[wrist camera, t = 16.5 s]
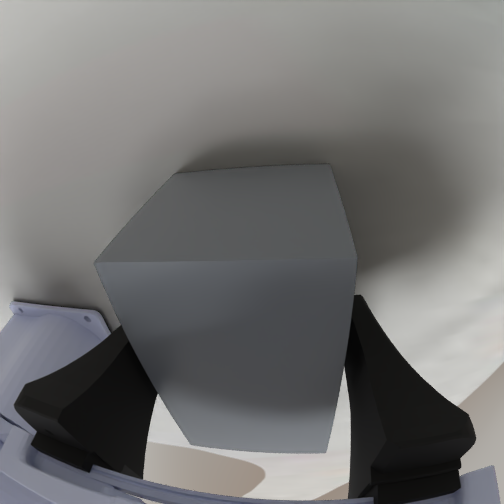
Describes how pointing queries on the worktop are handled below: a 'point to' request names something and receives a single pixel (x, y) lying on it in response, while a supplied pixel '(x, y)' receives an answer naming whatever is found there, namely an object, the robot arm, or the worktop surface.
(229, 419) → the gray rectangular block
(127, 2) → the worktop surface
